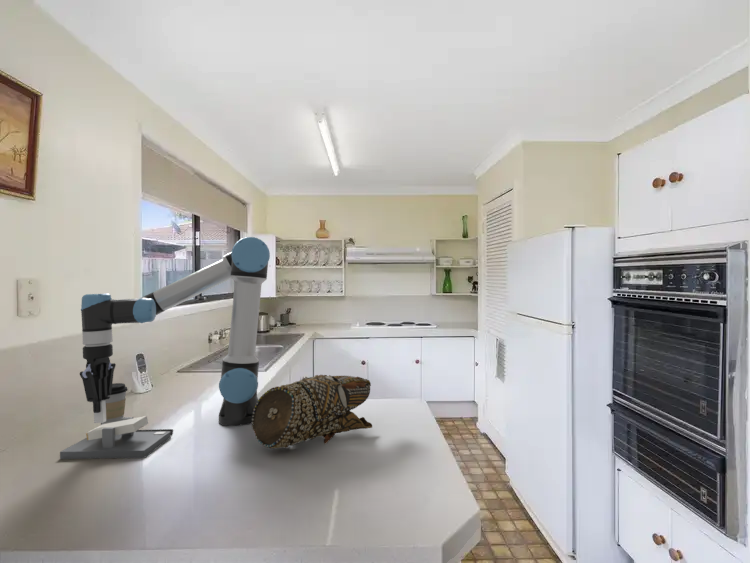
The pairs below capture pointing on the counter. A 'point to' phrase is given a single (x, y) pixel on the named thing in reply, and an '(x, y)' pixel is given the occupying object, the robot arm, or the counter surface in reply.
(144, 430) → the cords
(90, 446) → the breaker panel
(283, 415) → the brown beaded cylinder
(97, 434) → the plate
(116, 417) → the coffee cup
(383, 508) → the counter surface
